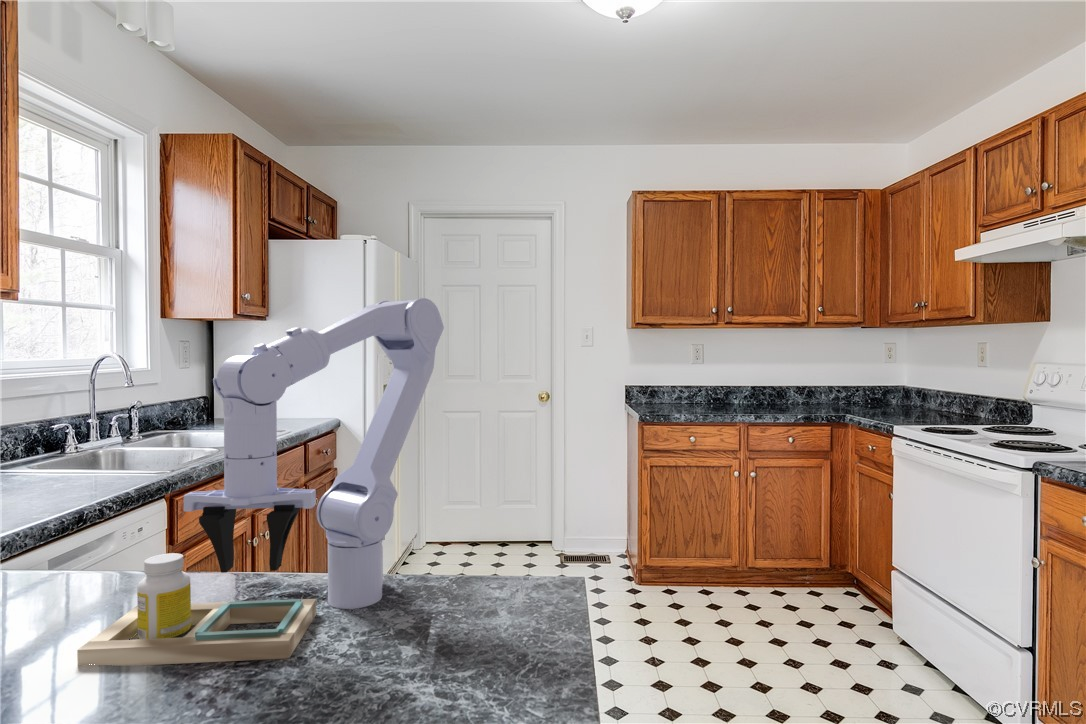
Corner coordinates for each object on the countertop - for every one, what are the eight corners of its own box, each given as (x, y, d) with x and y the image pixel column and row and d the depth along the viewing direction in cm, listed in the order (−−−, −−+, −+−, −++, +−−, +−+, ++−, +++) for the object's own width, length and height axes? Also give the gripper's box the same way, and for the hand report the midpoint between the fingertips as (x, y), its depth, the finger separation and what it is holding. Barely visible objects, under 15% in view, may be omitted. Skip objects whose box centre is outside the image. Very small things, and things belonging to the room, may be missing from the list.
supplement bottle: (199, 630, 78) (199, 550, 77) (175, 651, 72) (174, 565, 72) (155, 630, 77) (154, 551, 77) (127, 651, 72) (126, 566, 72)
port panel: (137, 621, 80) (137, 601, 80) (316, 614, 82) (316, 594, 82) (77, 668, 68) (77, 645, 68) (289, 658, 70) (289, 636, 70)
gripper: (170, 462, 71) (171, 583, 71) (304, 460, 72) (305, 578, 72) (198, 452, 78) (198, 562, 78) (320, 450, 79) (320, 558, 79)
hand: (251, 569), depth 76 cm, fingers open, 5 cm apart
